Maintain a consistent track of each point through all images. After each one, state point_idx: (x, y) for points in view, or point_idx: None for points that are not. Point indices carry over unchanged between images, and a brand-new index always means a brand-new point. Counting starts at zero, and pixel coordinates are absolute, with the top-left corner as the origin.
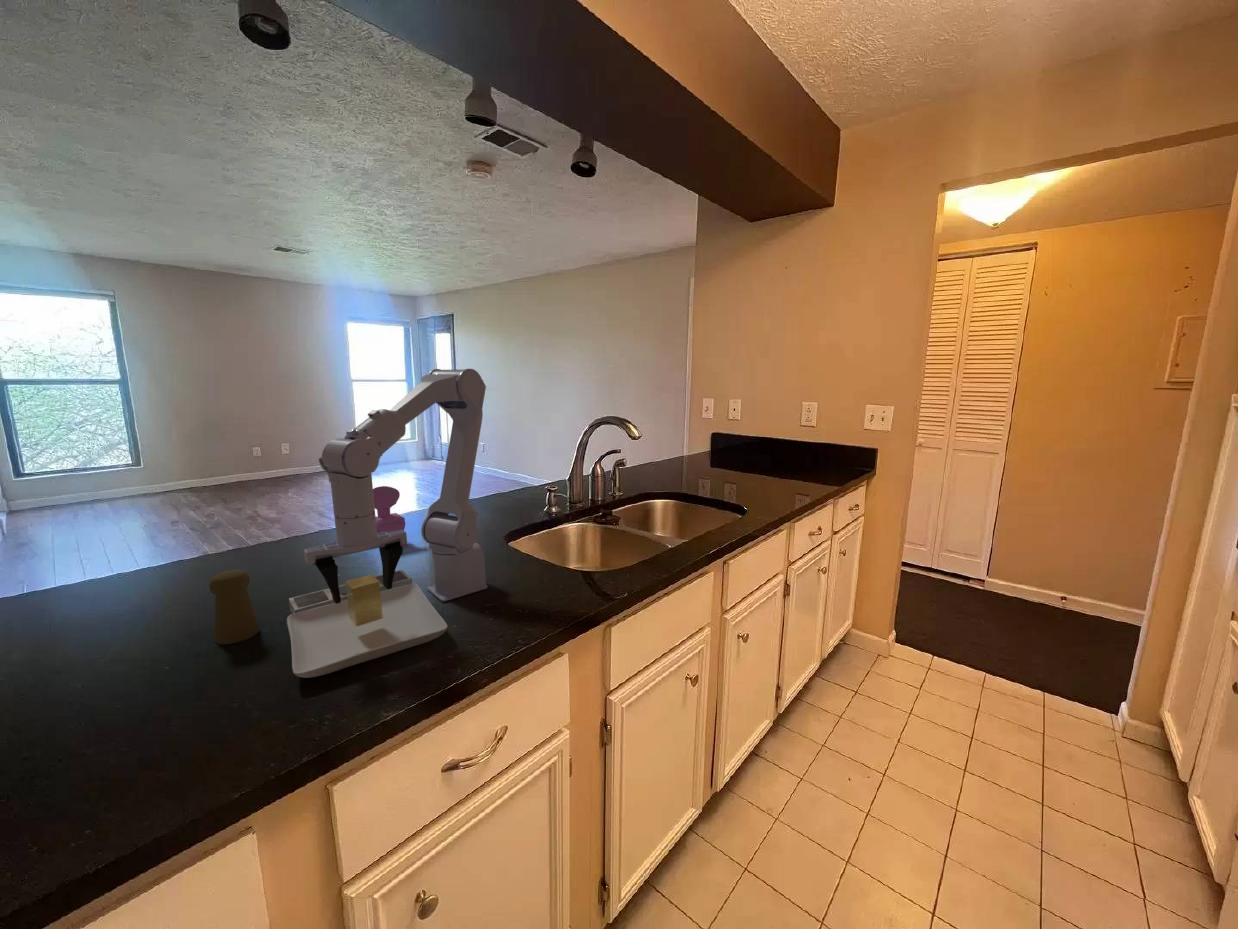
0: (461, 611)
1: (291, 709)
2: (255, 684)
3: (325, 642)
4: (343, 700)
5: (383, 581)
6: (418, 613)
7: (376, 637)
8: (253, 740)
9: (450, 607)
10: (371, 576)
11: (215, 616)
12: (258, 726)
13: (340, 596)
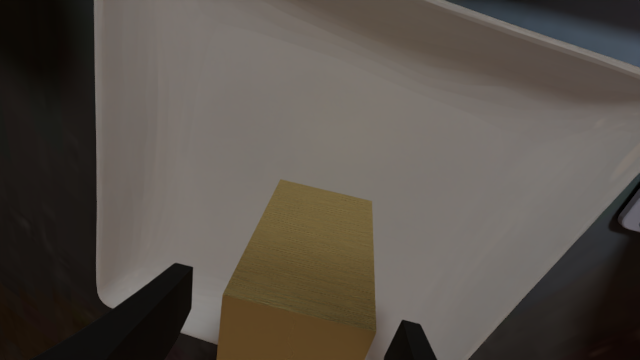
0: (572, 302)
1: (112, 308)
2: (52, 186)
3: (211, 157)
4: (184, 349)
5: (404, 341)
6: (475, 257)
7: None
8: (62, 325)
9: (587, 260)
10: (355, 353)
11: None
12: (66, 305)
13: (175, 340)
